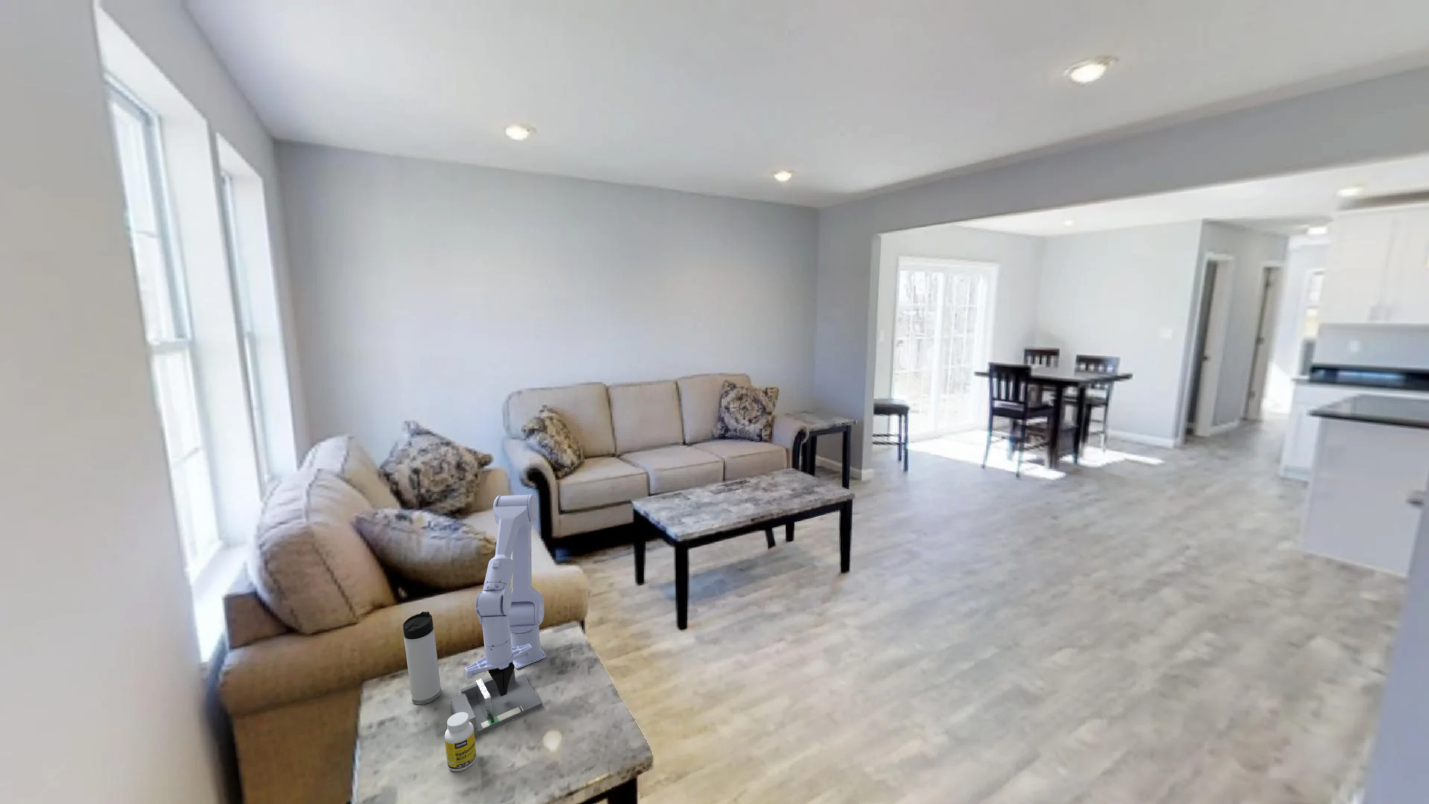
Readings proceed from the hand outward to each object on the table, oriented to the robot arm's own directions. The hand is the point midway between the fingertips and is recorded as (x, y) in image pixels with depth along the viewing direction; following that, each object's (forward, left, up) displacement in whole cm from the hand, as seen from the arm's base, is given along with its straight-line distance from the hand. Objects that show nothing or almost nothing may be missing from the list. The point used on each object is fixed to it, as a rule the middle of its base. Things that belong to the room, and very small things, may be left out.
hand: (502, 693), depth 129 cm
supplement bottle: (+12, -12, -3) cm, 17 cm away
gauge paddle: (+1, -4, -2) cm, 5 cm away
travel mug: (-15, -14, -3) cm, 21 cm away
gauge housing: (0, -2, -3) cm, 3 cm away
